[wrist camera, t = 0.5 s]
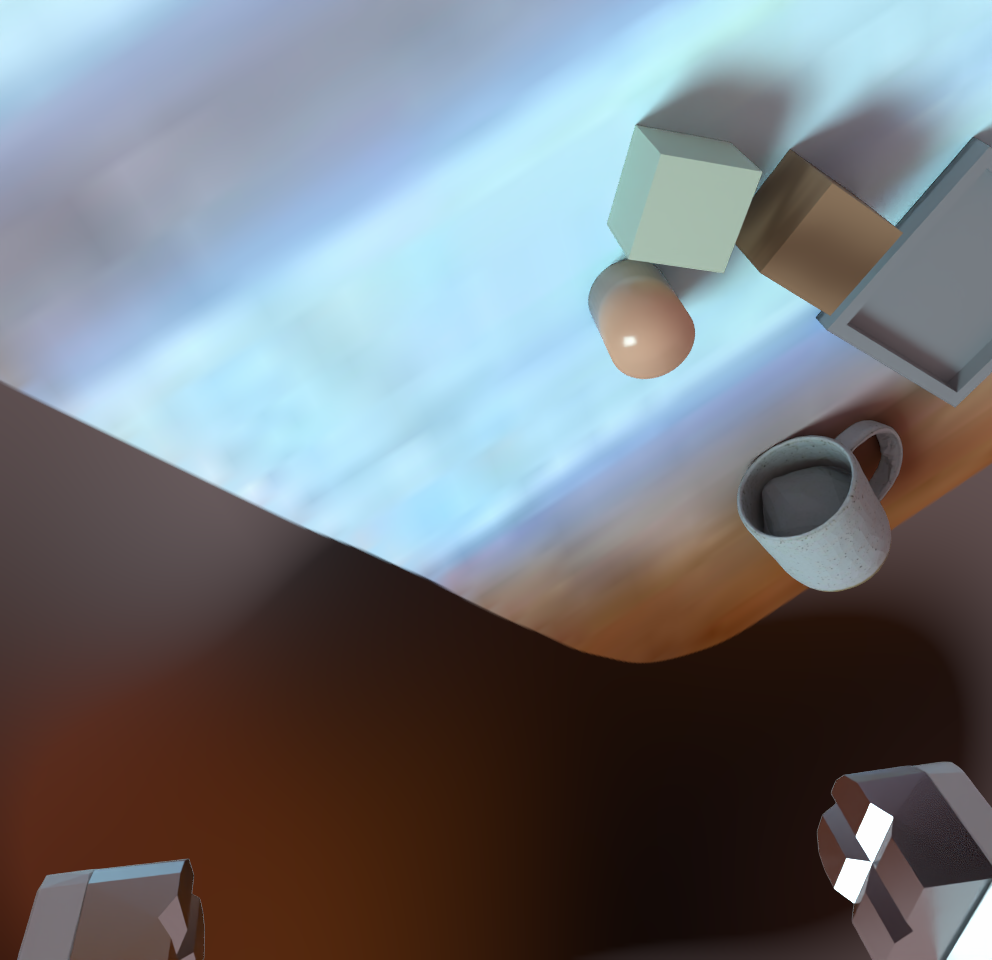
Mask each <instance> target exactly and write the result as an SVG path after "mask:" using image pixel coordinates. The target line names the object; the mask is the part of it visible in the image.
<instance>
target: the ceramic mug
mask: <svg viewBox="0 0 992 960" xmlns="http://www.w3.org/2000/svg"><path fill="white" fill-rule="evenodd" d="M875 434H876V436H877V439H878V441H879V444H880V447H881V453H882V455H881V460H880V462H879V465H878V468H877V469H876V471H875V473H874V475H873V476H872V478H871V479H870V481H869V482H868V480H867V478H866V476H865V475H864V473H863V471H862V469H861V466H860V464H859V462H858V461H857V459H856V457H855V456H854V454H853V451H854V450H855V449H856V447H857V446H859V445H860V444H862V443H863V442H864V441H866V440H867V439H868V438H870V437H872V436H873V435H875ZM902 458H903V448H902V442H901V440H900V437H899V435H898V434H897V432H896V431H895V430H894V429H893V428H892V427H890V426H887V425H884V424H882V423H879V422H876V421H872V420H865V421H860V422H856V423H854V424H853V425H851V426H850V427H848V428H847V429H846V430H844V431H843V432H842V433H841V434H839V435H838V436H837V437H836V438H835V439H832V438H829V437H825V436H817V435H809V436H801V437H795V438H792V439H790V440H787V441H784V442H782V443H779V444H778V445H776V446H774V447H772V448H770V449H769V450H767V451H766V452H765V453H763V454H762V455H761V456H759V457H758V458H757V459H756V460H755V461H754V462H753V463H752V465H751V466H750V467H749V468H748V470H747V471H746V473H745V475H744V476H743V478H742V480H741V483H740V486H739V489H738V495H737V505H738V512H739V515H740V518H741V520H742V521H743V523H744V525H745V526H746V528H747V529H748V530H749V532H750V533H751V534H752V535H753V536H754V537H755V538H756V539H757V540H758V541H759V542H760V543H761V545H762V546H763V547H764V548H765V549H766V550H767V551H768V552H769V553H770V554H771V555H772V556H773V557H774V558H775V559H776V560H777V562H778V563H779V564H780V565H781V566H782V568H783V569H784V570H785V571H786V572H787V573H788V574H790V575H791V576H792V577H793V578H795V579H796V580H798V581H799V582H801V583H802V584H804V585H806V586H808V587H810V588H814V589H817V590H820V591H828V592H836V591H842V590H846V589H849V588H853V587H855V586H858V585H860V584H862V583H864V582H865V581H867V580H868V579H870V578H871V577H872V576H873V575H874V574H875V573H876V572H878V570H879V569H880V567H881V566H882V564H883V563H884V562H885V560H886V558H887V556H888V553H889V550H890V546H891V532H890V526H889V521H888V519H887V516H886V513H885V511H884V509H883V507H882V505H881V504H880V501H881V500H882V499H883V497H884V496H885V495H886V494H887V492H888V491H889V490H890V488H891V487H892V485H893V483H894V482H895V480H896V478H897V476H898V475H899V471H900V468H901V464H902Z"/></svg>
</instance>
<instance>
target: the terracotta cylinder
mask: <svg viewBox="0 0 992 960" xmlns="http://www.w3.org/2000/svg"><path fill="white" fill-rule="evenodd" d="M588 305H589V310H590V313H591V315H592V318H593V320H594V322H595V324H596V326H597V328H598V331H599V333H600V335H601V337H602V339H603V341H604V344H605V346H606V348H607V350H608V352H609V354H610V356H611V359H612V361H613V363H614V364H615V366H616V367H617V368H618V369H619V370H620V371H621V372H622V373H624V374H626V375H628V376H630V377H634V378H639V379H650V378H655V377H659V376H662V375H664V374H667V373H669V372H670V371H672V370H674V369H675V368H676V367H678V366H679V365H680V364H681V363H682V362H683V361H684V360H685V358H686V357H687V356H688V354H689V352H690V351H691V348H692V346H693V343H694V338H695V328H694V324H693V321H692V319H691V317H690V315H689V314H688V312H687V311H686V309H685V308H684V306H683V305H682V303H681V302H680V300H679V298H678V297H677V295H676V294H675V292H674V291H673V289H672V288H671V286H670V285H669V283H668V282H667V280H666V279H665V277H664V275H663V274H662V272H661V271H660V270H659V269H658V268H657V267H656V266H655V265H653V264H652V263H649V262H642V261H636V260H629V259H627V260H623V261H620V262H617V263H615V264H613V265H611V266H609V267H608V268H606V269H605V270H604V271H603V272H602V273H601V274H600V275H599V276H598V277H597V278H596V280H595V281H594V283H593V285H592V287H591V289H590V293H589V298H588Z"/></svg>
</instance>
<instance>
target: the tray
mask: <svg viewBox="0 0 992 960" xmlns="http://www.w3.org/2000/svg"><path fill="white" fill-rule="evenodd" d="M895 227H896V228H897V229H899V230H900V231H901V232H903V234H902V235H901V236H900V237H899V238H898V240H897V241H896V242H895V243H894V244H893V245H892V246H891V248H890V249H889V250H888V251H887V252H886V253H885V254H884V255H883V257H882V258H881V259H880V260H879V261H878V262H877V263H876V265H875V266H874V267H873V268H872V269H871V270H870V271H869V273H868V274H867V275H866V276H865V277H864V278H863V279H862V281H861V282H860V283H859V284H858V285H857V286H856V287H855V288H854V290H853V291H852V292H851V293H850V294H849V295H848V296H847V298H846V299H845V300H844V301H843V302H842V303H841V304H840V306H839V307H838V308H837V309H836V310H835V311H834V312H833V313H832V315H831V316H830V315H828V314H826V313H825V312H823V311H821V312H820V313H819V314H818V316H817V317H816V319H817V320H818V321H819V322H820V323H821V324H822V325H823V326H824V328H825V329H826V330H827V331H829V332H831V333H832V334H834V335H836V336H837V337H839V338H841V339H842V340H844V341H846V342H847V343H849V344H851V345H852V346H854V347H856V348H857V349H859V350H861V351H862V352H864V353H866V354H867V355H869V356H871V357H872V358H874V359H876V360H877V361H879V362H881V363H882V364H884V365H885V366H887V367H889V368H890V369H892V370H894V371H895V372H897V373H899V374H900V375H902V376H904V377H905V378H907V379H909V380H910V381H912V382H914V383H915V384H917V385H919V386H920V387H922V388H924V389H925V390H927V391H929V392H930V393H932V394H934V395H935V396H937V397H939V398H940V399H942V400H944V401H945V402H947V403H949V404H950V405H952V406H954V407H956V406H957V405H958V404H959V403H960V402H961V401H962V400H963V399H964V398H965V397H966V396H967V395H969V394H970V393H971V392H972V391H973V390H974V389H975V388H976V387H977V386H978V385H979V384H980V383H981V382H982V381H983V380H984V379H985V378H986V377H987V376H988V375H989V374H990V373H991V372H992V147H990V146H989V145H987V144H985V143H983V142H982V141H980V140H978V139H976V138H974V137H973V138H972V139H971V140H970V141H969V142H968V144H967V145H966V146H965V147H964V148H963V149H962V150H961V152H960V153H959V154H958V155H957V156H956V157H955V158H954V160H953V161H952V162H951V163H950V164H949V165H948V167H947V168H946V169H945V170H944V171H943V172H942V173H941V175H940V176H939V177H938V178H937V179H936V180H935V181H934V183H933V184H932V185H931V186H930V187H929V188H928V189H927V191H926V192H925V193H924V194H923V195H922V196H921V197H920V199H919V200H918V201H917V202H916V203H915V204H914V205H913V207H912V208H911V209H910V210H909V211H908V212H907V214H906V215H905V216H904V217H903V218H902V219H901V220H900V222H899V223H898V224H897V225H896V226H895Z"/></svg>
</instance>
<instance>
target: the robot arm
mask: <svg viewBox="0 0 992 960" xmlns="http://www.w3.org/2000/svg"><path fill="white" fill-rule="evenodd" d="M831 794H832V796H833V798H834V799H835V801H836V804H835V805H834V806H832V807H831V808H830V809H829V810H828V811H826V812H825V813H824V814H823V815H822V818H821V821H820V824H819V827H818V830H817V837H818V847H819V854H820V857H821V860H822V863H823V866H824V869H825V871H826V873H827V875H828V877H829V879H830V881H831V883H832V885H833V887H834V888H835V889H836V890H837V891H839V892H840V893H841V894H843V895H844V896H845V897H847V898H848V899H849V900H851V901H852V902H853V903H854V909H853V916H852V923H853V925H854V926H855V928H856V930H857V932H858V934H859V936H860V937H861V939H862V941H863V943H864V945H865V947H866V949H867V950H868V952H869V954H870V956H871V958H872V960H992V808H991V807H990V806H989V804H988V803H987V802H986V801H985V799H984V798H983V796H982V795H981V794H980V793H979V791H978V790H977V789H976V787H975V786H974V785H973V783H972V782H971V781H970V779H969V778H968V777H967V776H966V774H965V773H964V772H963V771H962V770H961V769H960V768H959V767H958V766H956V765H955V764H953V763H952V762H939V763H932V764H924V765H918V766H903V767H896V768H889V769H882V770H875V771H868V772H862V773H855V774H848V775H843V776H842V777H840V778H839V779H837V780H836V782H835V784H834V786H833V789H832V791H831ZM193 879H194V874H193V871H192V867H191V864H190V861H189V859H183V860H174V861H166V862H157V863H149V864H141V865H131V866H123V867H114V868H106V869H92V870H84V871H77V872H70V873H62V874H53V875H47V876H46V878H45V880H44V881H43V883H42V885H41V886H40V888H39V890H38V891H37V894H36V898H35V901H34V905H33V908H32V911H31V915H30V918H29V922H28V925H27V928H26V932H25V935H24V938H23V942H22V945H21V949H20V952H19V955H18V959H17V960H204V934H205V933H204V931H205V929H204V918H203V910H202V906H201V901H200V898H199V897H197V896H195V895H193V894H192V888H193Z"/></svg>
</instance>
